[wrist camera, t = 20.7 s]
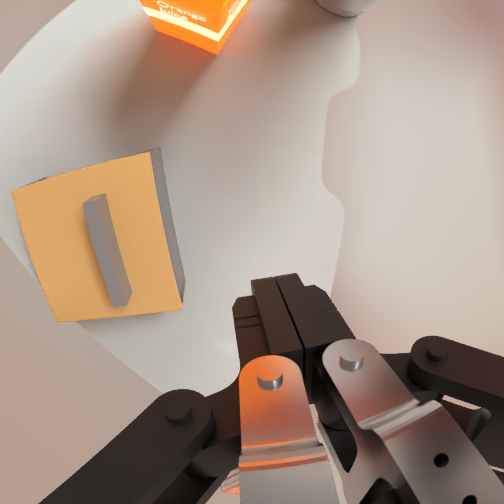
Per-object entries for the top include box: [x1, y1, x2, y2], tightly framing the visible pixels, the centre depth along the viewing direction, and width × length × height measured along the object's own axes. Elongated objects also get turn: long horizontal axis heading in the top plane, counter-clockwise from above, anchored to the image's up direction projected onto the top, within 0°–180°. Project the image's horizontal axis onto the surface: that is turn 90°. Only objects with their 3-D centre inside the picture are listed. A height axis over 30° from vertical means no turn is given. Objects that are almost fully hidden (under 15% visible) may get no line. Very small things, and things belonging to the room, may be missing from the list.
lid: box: [12, 152, 182, 322], centre depth 29 cm, size 18×18×4 cm
